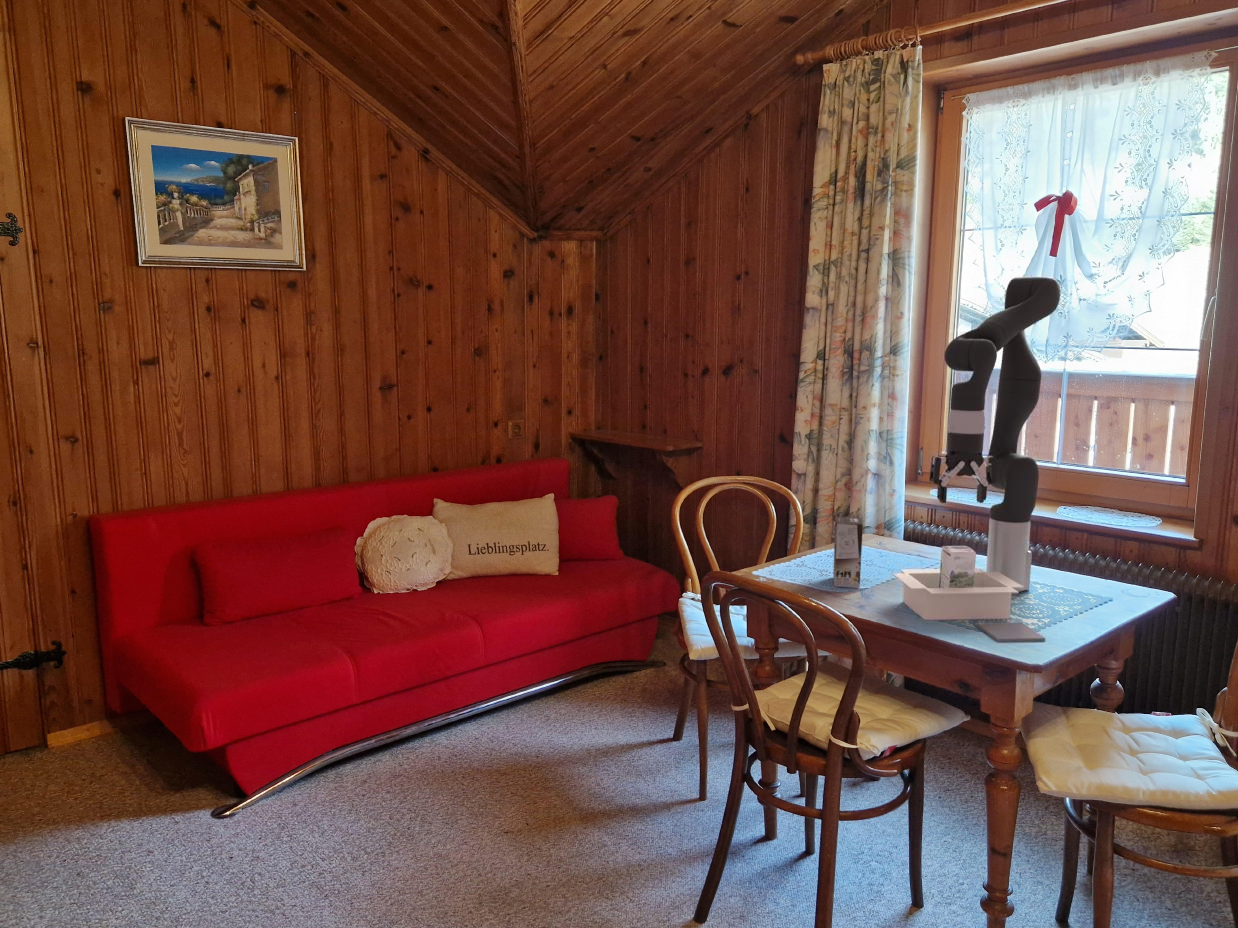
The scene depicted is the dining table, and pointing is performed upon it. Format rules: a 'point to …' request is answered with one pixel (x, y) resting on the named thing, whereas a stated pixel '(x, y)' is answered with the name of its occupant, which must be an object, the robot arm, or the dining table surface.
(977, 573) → the carton
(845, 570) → the coffee box
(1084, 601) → the dining table surface
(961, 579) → the syrup box
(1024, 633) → the coaster
